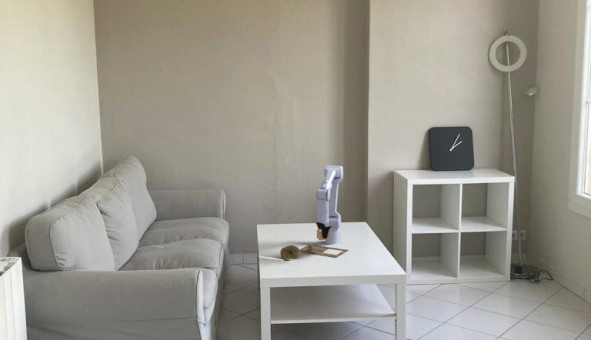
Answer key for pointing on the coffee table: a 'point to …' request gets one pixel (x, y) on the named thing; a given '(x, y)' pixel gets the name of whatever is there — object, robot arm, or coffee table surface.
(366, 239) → the coffee table surface
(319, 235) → the salmon pink cube
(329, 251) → the mat
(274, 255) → the coffee table surface
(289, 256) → the fossil
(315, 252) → the post board
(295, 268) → the coffee table surface
